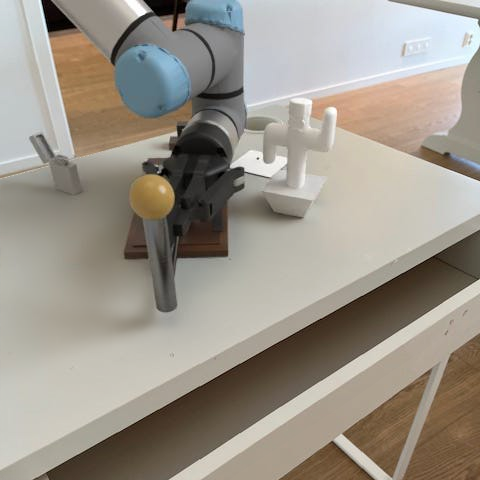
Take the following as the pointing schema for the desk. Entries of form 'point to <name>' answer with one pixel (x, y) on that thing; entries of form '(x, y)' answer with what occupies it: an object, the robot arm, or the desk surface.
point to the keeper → (179, 130)
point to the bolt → (157, 235)
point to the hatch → (190, 245)
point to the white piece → (259, 164)
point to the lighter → (57, 165)
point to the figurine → (296, 157)
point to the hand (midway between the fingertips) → (158, 247)
